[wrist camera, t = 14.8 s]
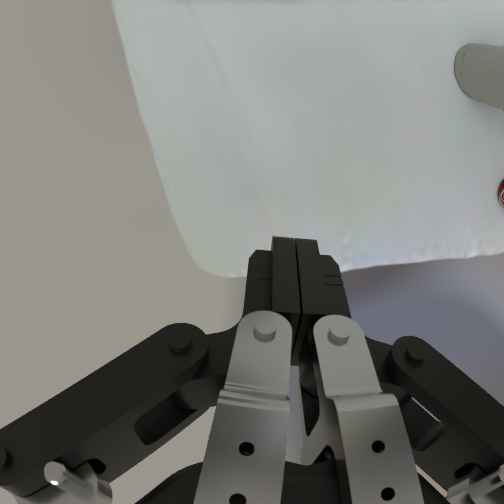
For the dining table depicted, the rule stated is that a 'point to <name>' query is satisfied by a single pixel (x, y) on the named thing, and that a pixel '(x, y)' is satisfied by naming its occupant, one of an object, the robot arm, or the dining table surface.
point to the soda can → (501, 195)
